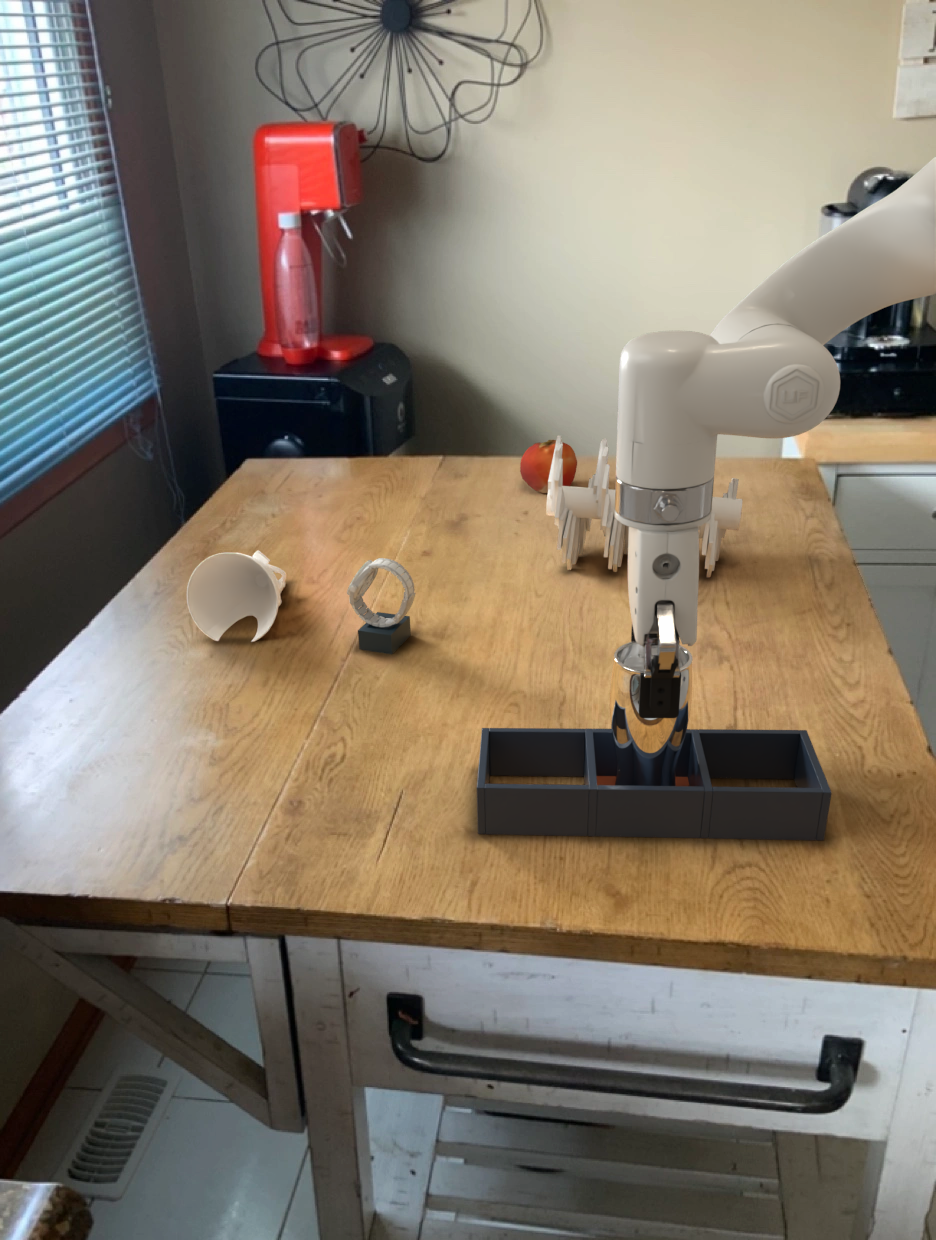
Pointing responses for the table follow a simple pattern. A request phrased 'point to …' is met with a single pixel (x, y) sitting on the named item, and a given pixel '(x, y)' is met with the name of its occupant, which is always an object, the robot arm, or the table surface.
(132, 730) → the table surface
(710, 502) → the robot arm
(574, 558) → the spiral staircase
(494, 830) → the compartment tray
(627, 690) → the beer glass
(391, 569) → the watch
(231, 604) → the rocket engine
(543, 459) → the tomato
